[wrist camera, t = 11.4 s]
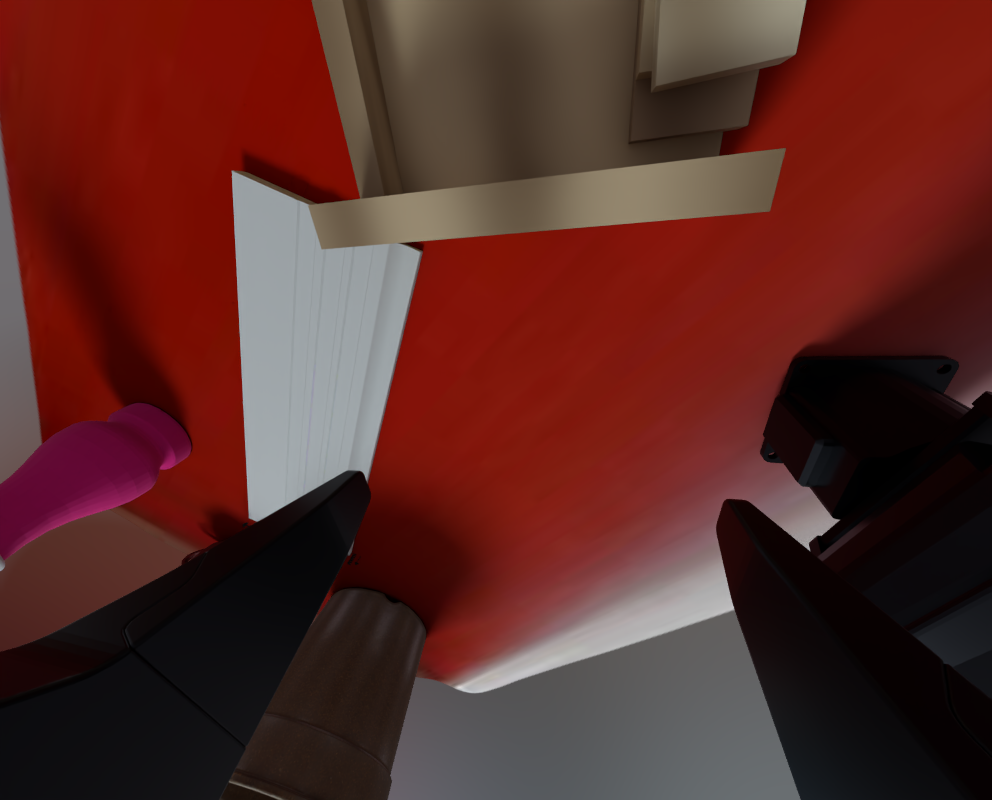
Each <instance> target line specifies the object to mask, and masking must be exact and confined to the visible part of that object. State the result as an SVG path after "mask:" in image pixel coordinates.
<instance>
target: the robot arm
mask: <svg viewBox="0 0 992 800" xmlns="http://www.w3.org/2000/svg"><path fill="white" fill-rule="evenodd" d="M806 364H807V366H806V368H805V369H803V370H799V369H800V367H801V366H803V365H806ZM942 365H944V366H943V367H942V368H941V369H939V370H937V369H938V368H939V367H940V366H942ZM958 367H959V364H958V362H957V361H955V360H953V359H951V358H949V357H946V356H812V357H799V358H797V359H795V360H794V361H793V362H792V363H791V364H790V366H789V369H788V372H787V375H786V378H785V381H784V384H783V387H782V389H781V392H780V395H779V396H777V397H776V398H775V401H774V403H773V406H772V409H771V412H770V415H769V418H768V421H767V424H766V427H765V430H764V433H763V436H764V437H765V439H764V442H763V445H762V448H761V450H760V454H761V456H762V457H763V459H764V460H765V461H767V462H771V463H784V465H785V466H786V467H787V469H788V470H789V472H790V473H791V474H792V476H793V477H794V478H795V480H796V481H797V482H798V483H799V484H800V485H801V486H803V487H810V488H811V490H812V491H813V492H814V494H815V495H816V496H817V498H818V499H819V500H820V502H821V503H822V504H823V506H824V507H825V508H826V509H827V511H828V512H829V513H830V515H831V516H832V517H833V518H834V519H839V520H840V521H838V522H837V523H836V524H835V525H834V526H833V527H831V528H830V529H829V530H828V531H827V532H825V533H824V534H823V535H822V536H816V537H815V538H814V539H813V540H812V541H811V542H809V547H810V551H811V552H810V551H809V550H808V549H807V548H805V547H804V546H803V545H802V544H800V543H799V542H798V541H797V540H795V539H794V538H793V537H792V536H791V535H789V534H788V533H787V532H786V531H784V530H783V529H782V528H781V527H780V526H778V525H777V524H776V523H775V522H773V521H772V520H771V519H770V518H768V517H767V516H766V515H765V514H764V513H762V512H761V511H760V510H759V509H757V508H756V507H755V506H754V505H752V504H751V503H750V502H748V501H746V500H738V499H726V500H725V501H724V502H723V505H722V508H721V511H720V515H719V518H718V521H717V525H716V532H717V538H718V542H719V547H720V551H721V555H722V560H723V564H724V569H725V573H726V577H727V582H728V586H729V591H730V595H731V599H732V603H733V606H734V609H735V612H736V615H737V618H738V621H739V624H740V627H741V630H742V633H743V635H744V638H745V641H746V644H747V647H748V650H749V653H750V656H751V658H752V661H753V664H754V667H755V670H756V673H757V675H758V679H759V681H760V684H761V687H762V690H763V693H764V696H765V699H766V701H767V704H768V707H769V710H770V713H771V716H772V719H773V721H774V724H775V727H776V730H777V733H778V736H779V739H780V742H781V744H782V747H783V750H784V753H785V756H786V759H787V762H788V765H789V767H790V770H791V773H792V776H793V779H794V782H795V784H796V787H797V790H798V793H799V796H800V799H801V800H992V392H989V391H986V392H984V393H983V394H982V395H981V396H980V397H979V398H977V399H976V400H975V401H974V402H973V403H972V405H974V407H973V408H972V409H970V408H969V407H967V406H965V405H963V404H962V403H960V402H958V401H956V400H955V399H953V398H951V397H949V396H948V395H946V394H944V391H945V390H946V388H947V387H948V385H949V383H950V382H951V380H952V378H953V377H954V375H955V373H956V372H957V370H958ZM772 452H775V453H774V454H772V455H769V454H770V453H772ZM370 499H371V492H370V489H369V486H368V484H367V481H366V478H365V475H364V473H363V472H362V471H357V470H347V471H345V472H343V473H341V474H340V475H338V476H336V477H334V478H333V479H331V480H329V481H327V482H326V483H324V484H322V485H320V486H319V487H317V488H315V489H313V490H312V491H310V492H308V493H306V494H305V495H303V496H301V497H300V498H298V499H296V500H294V501H293V502H291V503H289V504H287V505H286V506H284V507H282V508H280V509H279V510H277V511H275V512H273V513H272V514H270V515H268V516H267V517H265V518H263V519H261V520H260V521H258V522H256V523H254V524H253V525H251V526H249V527H247V528H246V529H244V530H242V531H240V532H239V533H237V534H235V535H233V536H232V537H230V538H228V539H227V540H225V541H223V542H221V543H220V544H218V545H216V546H214V547H213V548H211V549H209V550H208V552H204V553H202V554H200V555H199V556H197V557H195V558H193V559H192V560H190V561H188V562H186V563H185V564H183V565H181V566H179V567H178V568H176V569H174V570H172V571H170V572H169V573H167V574H165V575H163V576H161V577H160V578H158V579H156V580H154V581H152V582H150V583H148V584H146V585H144V586H143V587H141V588H139V589H137V590H135V591H133V592H131V593H129V594H127V595H125V596H123V597H122V598H120V599H118V600H116V601H114V602H112V603H110V604H108V605H106V606H104V607H102V608H100V609H98V610H96V611H94V612H92V613H90V614H89V615H87V616H85V617H83V618H81V619H79V620H77V621H75V622H73V623H71V624H69V625H67V626H65V627H63V628H61V629H60V630H58V631H55V632H53V633H51V634H49V635H47V636H45V637H43V638H40V639H38V640H35V641H33V642H30V643H28V644H25V645H22V646H19V647H16V648H12V649H9V650H5V651H1V652H0V800H220V798H221V796H222V794H223V792H224V790H225V788H226V786H227V784H228V783H229V781H230V779H231V777H232V775H233V773H234V771H235V769H236V767H237V765H238V764H239V762H240V760H241V758H242V756H243V754H244V752H245V750H246V746H247V745H248V744H249V742H250V740H251V738H252V736H253V734H254V733H255V731H256V729H257V727H258V725H259V723H260V721H261V719H262V717H263V715H264V713H265V712H266V710H267V708H268V706H269V704H270V702H271V700H272V698H273V696H274V694H275V692H276V691H277V689H278V687H279V685H280V683H281V681H282V679H283V677H284V675H285V673H286V672H287V670H288V668H289V666H290V664H291V662H292V660H293V658H294V656H295V654H296V652H297V651H298V649H299V647H300V645H301V643H302V641H303V639H304V637H305V635H306V633H307V631H308V630H309V628H310V626H311V624H312V622H313V620H314V618H315V616H316V614H317V612H318V610H319V609H320V607H321V605H322V603H323V601H324V599H325V597H326V595H327V593H328V591H329V590H330V588H331V586H332V584H333V582H334V580H335V578H336V576H337V574H338V572H339V570H340V569H341V567H342V565H343V563H344V561H345V559H346V557H347V555H348V553H349V551H350V548H351V546H352V544H353V542H354V539H355V537H356V534H357V532H358V529H359V527H360V524H361V522H362V520H363V517H364V515H365V512H366V510H367V507H368V505H369V502H370Z"/></svg>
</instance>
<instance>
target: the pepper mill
mask: <svg viewBox="0 0 992 800" xmlns="http://www.w3.org/2000/svg"><path fill="white" fill-rule="evenodd" d="M191 448H192V447H191V442H190V439H189V437H188V435H187V433H186V432H185V430H184V429H183V428H182V427H181V426H180V424H179V423H178V422H177V421H175V420H174V419H173V418H172V417H171V416H170V415H168V414H167V413H165V412H164V411H162V410H161V409H159V408H157V407H155V406H152V405H150V404H145V403H134V404H131V405H129V406H127V407H124V408H122V409H120V410H118V411H116V412H114V413H112V414H111V415H110V416H109V419H108V422H104V421H84V422H79V423H76V424H73V425H71V426H69V427H67V428H65V429H63V430H62V431H60V432H58V433H56V434H55V435H53V436H52V437H51V438H49V439H48V440H47V441H46V442H44V443H43V444H42V445H41V446H40V447H39V448H38V449H37V450H36V451H35V452H34V453H33V454H32V455H31V456H30V457H29V458H28V460H27V461H26V462H25V463H24V464H23V465H22V466H21V467H20V468H19V469H18V470H17V471H16V472H15V473H14V474H13V475H12V476H10V477H9V478H8V479H7V480H5V481H4V482H3V483H1V484H0V571H1V570H2V569H4V567H5V562H4V560H5V559H7V558H8V557H9V556H10V555H12V554H13V553H15V552H16V551H17V550H18V549H20V548H21V547H23V546H24V545H25V544H27V543H29V542H30V541H32V540H34V539H35V538H37V537H39V536H40V535H42V534H44V533H45V532H47V531H49V530H51V529H54V528H56V527H58V526H60V525H63V524H65V523H67V522H70V521H73V520H76V519H79V518H81V517H85V516H88V515H91V514H94V513H98V512H101V511H104V510H108V509H111V508H114V507H117V506H119V505H122V504H124V503H127V502H129V501H132V500H134V499H135V498H137V497H139V496H140V495H142V494H144V493H145V492H147V491H149V490H150V489H151V488H152V487H153V485H154V484H155V482H156V481H157V478H158V475H159V470H160V469H169V468H172V467H173V466H175V465H176V464H178V463H179V462H181V461H182V460H184V459H185V458H187V457H188V456H189V454H190V452H191Z"/></svg>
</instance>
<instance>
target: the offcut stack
mask: <svg viewBox="0 0 992 800" xmlns="http://www.w3.org/2000/svg"><path fill="white" fill-rule="evenodd" d="M805 5H806V0H639V3H638V16H637V30H636V43H635V57H634V71H633V84H632V98H631V112H630V125H629V139H628V144H632V143H640V142H647V141H655V140H662V139H670V138H677V137H685V136H692V135H700V134H707V133H715V132H722V131H730V130H737V129H740V128H743V127H745V126H748V123H749V118H750V113H751V108H752V103H753V98H754V94H755V89H756V84H757V79H758V74H759V69H761V68H766V67H770V66H774V65H779V64H781V63H783V62H784V61H786V60H787V59H789V58H791V57H792V56H794V55H795V54H796V51H797V46H798V41H799V36H800V30H801V25H802V20H803V15H804V10H805Z"/></svg>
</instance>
